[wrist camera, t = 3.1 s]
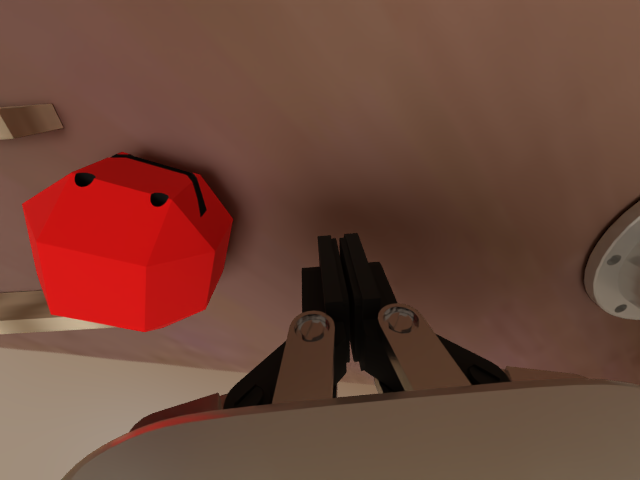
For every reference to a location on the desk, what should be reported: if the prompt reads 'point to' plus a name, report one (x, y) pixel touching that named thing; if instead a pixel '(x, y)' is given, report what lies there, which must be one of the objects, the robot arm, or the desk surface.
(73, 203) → the ball
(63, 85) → the desk surface
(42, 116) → the wooden u-shaped stand
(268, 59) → the desk surface
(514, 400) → the robot arm
